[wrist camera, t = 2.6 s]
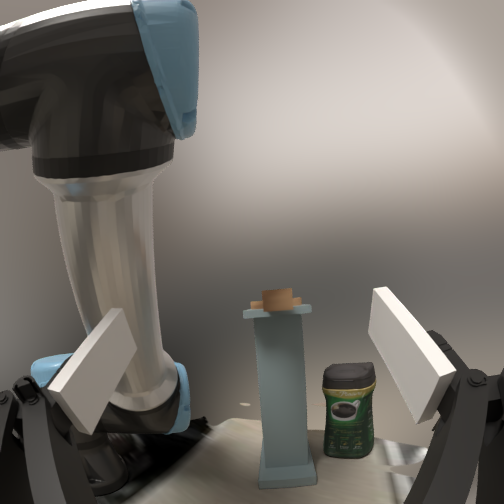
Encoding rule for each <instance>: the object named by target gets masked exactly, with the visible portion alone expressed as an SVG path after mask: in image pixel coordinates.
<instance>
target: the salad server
mask: <svg viewBox="0 0 504 504" xmlns="http://www.w3.org/2000/svg"><path fill="white" fill-rule="evenodd" d="M262 299H263V301H254V302H251V310H253V309H263V312H270V311H281V310H292V309H293V306H299V305H302V302H301V297H299V298H292V289H291V288H289V289H277V290H266V291H262Z"/></svg>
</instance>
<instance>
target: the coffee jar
mask: <svg viewBox="0 0 504 504" xmlns="http://www.w3.org/2000/svg"><path fill="white" fill-rule="evenodd" d="M375 386H376V376H375V371H374V366H373V363H372V362H367V363H346V364H332V365H330V366H329V367H327V368H326V369H325V371H324V375H323V385H322V390H323V393H324V395H325V399H326V426H325V434H324V444H323V451H324V453H325V454H326V455H328V456H333V457H340V458H360V457H363V456H364V455H366V454H368V453H369V452H370V451H371V449H372V447H373V444H374V428H373V415H372V394H373V391H374V388H375Z"/></svg>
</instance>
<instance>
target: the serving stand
mask: <svg viewBox="0 0 504 504" xmlns="http://www.w3.org/2000/svg"><path fill="white" fill-rule="evenodd" d="M310 312H311V305H304V304H302V305H299V306H293V309H292V310H281V311H270V312H263V309H253V310H251V309H248V310H245V311H243V317H244V318H253V319H254V330H255V343H256V357H257V369H258V381H259V394H260V406H261V418H262V430H263V441H262V451H261V461H260V470H259V479H258V483H259V489H273V488H288V487H299V486H308V485H316V479H317V476H316V472H315V467H314V463H313V459H312V455H311V451H310V447H309V442H308V438H307V405H306V404H307V403H306V382H305V381H306V380H305V361H304V346H303V331H302V318H301V314H302V313H310Z"/></svg>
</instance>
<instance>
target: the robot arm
mask: <svg viewBox="0 0 504 504" xmlns="http://www.w3.org/2000/svg"><path fill="white" fill-rule="evenodd" d="M198 72H199V31H198V17H197V12H196V9H195V7H194V6H193V4H192V3H191V2H190V1H188V0H90V1H85V2H80V3H75V4H71V5H66V6H63V7H59V8H55V9H51V10H48V11H44V12H41V13H38V14H35V15H32V16H29V17H27V18H23V19H20V20H17V21H14V22H12V23H9V24H6V25H4V26H0V151H7V150H12V149H21V148H27V147H32V160H33V173H34V178H35V179H36V180H37V181H39V182H40V183H41V184H43V185H44V186H45V187H46V188H48V189H49V190H51V191H52V192H53V194H54V202H55V210H56V217H57V223H58V229H59V234H60V240H61V245H62V250H63V254H64V259H65V263H66V267H67V271H68V275H69V278H70V283H71V286H72V290H73V293H74V297H75V300H76V303H77V306H78V309H79V312H80V315H81V318H82V321H83V324H84V327H85V329H86V332H87V335H88V337H87V338H86V339H85V341H84V342H83V343H82V344H81V346H80V347H79V348H78V349H77V351H76V352H75V353H71V354H62V355H55V356H50V357H45V358H41V359H39V360H36V361H35V362H34V363H33V364H32V366H31V376H23V377H21V378H20V379H18V380H17V381H16V382H15V383H14V385H13V388H12V389H13V391H14V392H15V393H16V395H17V396H18V398H19V399H16V398H15V396H14V395H13V393H12V392H11V391H8V390H6V391H2V392H0V504H98V503H97V501H96V498H95V496H97V495H104V494H108V493H111V492H114V491H116V490H118V489H119V488H121V487H122V486H123V485H124V484H125V483H126V481H127V479H128V470H127V467H126V464H125V462H124V460H123V459H122V457H121V456H120V455H119V454H118V453H117V452H116V450H115V448H114V446H113V445H112V443H111V442H110V440H109V438H108V435H107V433H127V434H159V433H163V434H171V433H174V432H182V431H184V430H186V429H187V428H188V426H189V423H190V406H189V405H190V392H189V383H188V378H187V373H186V369H185V367H184V366H183V365H182V364H180V363H176V362H174V361H173V360H172V358H171V357H170V356H169V355H168V354H167V353H166V352H165V351H164V350H163V348H162V340H161V332H160V324H159V314H158V304H157V293H156V281H155V265H154V246H153V245H154V244H153V182H154V180H155V178H156V177H157V176H158V175H159V174H160V173H161V172H162V171H163V170H165V169H166V168H167V167H168V166H169V165H170V164H171V163H172V161H173V152H174V140H175V139H180V140H184V139H185V138H188V137H191V136H192V135H193V134H194V132H195V128H196V113H197V111H196V106H197V99H198V74H199V73H198ZM368 333H369V335H370V337H371V338H372V340H373V342H374V344H375V346H376V348H377V349H378V351H379V353H380V355H381V357H382V358H383V360H384V362H385V364H386V366H387V368H388V369H389V371H390V373H391V375H392V377H393V379H394V381H395V382H396V385H397V386H398V388H399V390H400V392H401V394H402V396H403V398H404V400H405V402H406V404H407V406H408V408H409V410H410V412H411V414H412V416H413V418H414V420H415V423H416V424H419V423H421V422H424V421H427V420H430V419H432V418H433V416H434V414H435V412H436V411H437V410H438V412H439V413H440V415H441V416H440V418H439V419H438V421H437V423H436V424H435V426H434V427H433V429H432V431H434V430H435V431H434V434H433V437H432V440H431V443H430V446H429V449H428V451H427V454H426V456H425V459H424V461H423V464H422V466H421V468H420V471H419V473H418V475H417V477H416V480H415V482H414V484H413V486H412V488H411V490H410V492H409V494H408V496H407V498H406V500H405V502H404V504H465V502H466V499H467V497H468V494H469V491H470V488H471V485H472V481H473V478H474V475H475V471H476V467H477V463H478V459H479V464H478V485H477V496H476V504H504V368H503V370H502V372H501V374H500V375H494V376H487V375H486V374H485V373H484V372H482V371H480V370H478V369H469V368H468V367H467V366H466V364H465V363H464V362H463V361H462V359H461V358H460V357H459V356H458V355H457V354H456V352H455V351H454V350H452V347H451V346H450V345H449V344H447V341H446V340H445V339H444V338H443V337H442V336H441V335H440V334H438V333H436V332H435V331H433V330H431V331H427V332H426V331H425V330H424V329H423V328H422V326H421V325H420V324H419V323H418V322H417V321H416V319H415V318H414V317H413V316H412V315H411V314H410V312H409V311H408V310H407V309H406V308H405V307H404V306H403V304H402V303H401V302H400V301H399V300H398V299H397V298H396V297H395V296H394V294H393V293H392V292H391V291H390V290H389V289H388V288H387V287H381V288H374V289H373V299H372V307H371V316H370V323H369V331H368ZM13 429H14V430H15V431H16V432H17V433H18V437H17V438H16V437H15V436H14V435H13V434H12V431H13Z"/></svg>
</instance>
